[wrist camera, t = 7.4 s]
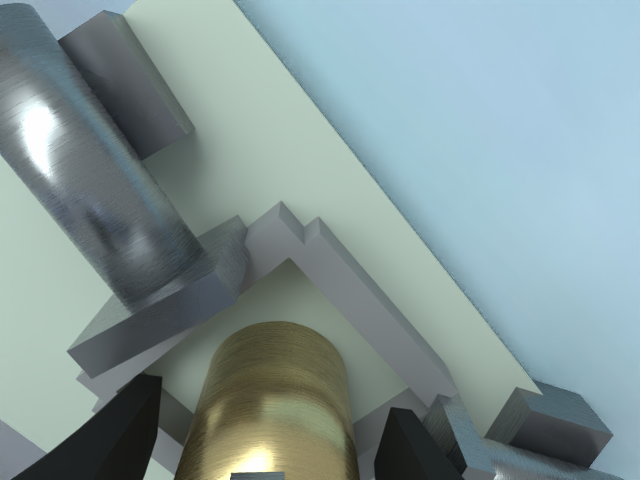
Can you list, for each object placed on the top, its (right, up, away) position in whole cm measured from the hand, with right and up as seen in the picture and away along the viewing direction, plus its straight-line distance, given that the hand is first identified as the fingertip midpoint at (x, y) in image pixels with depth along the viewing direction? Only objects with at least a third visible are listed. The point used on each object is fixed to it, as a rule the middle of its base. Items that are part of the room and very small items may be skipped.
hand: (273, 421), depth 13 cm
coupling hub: (0, 0, +2) cm, 2 cm away
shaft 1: (-4, +7, 0) cm, 8 cm away
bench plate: (-1, 0, +3) cm, 3 cm away
